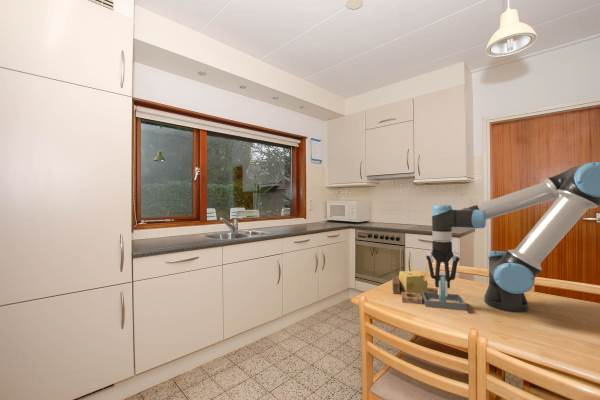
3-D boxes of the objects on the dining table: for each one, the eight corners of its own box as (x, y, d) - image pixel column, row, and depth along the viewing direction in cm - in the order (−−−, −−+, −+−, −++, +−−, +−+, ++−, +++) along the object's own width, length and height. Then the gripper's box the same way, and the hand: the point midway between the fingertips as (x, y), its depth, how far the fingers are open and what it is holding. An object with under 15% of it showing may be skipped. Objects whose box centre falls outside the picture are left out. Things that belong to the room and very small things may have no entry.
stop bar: (398, 288, 140) (398, 276, 140) (399, 296, 129) (399, 283, 129) (392, 287, 141) (392, 276, 141) (393, 295, 130) (393, 283, 130)
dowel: (445, 302, 118) (445, 274, 118) (446, 304, 116) (446, 276, 116) (438, 301, 119) (438, 274, 119) (439, 304, 116) (439, 276, 116)
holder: (419, 299, 125) (419, 293, 125) (422, 306, 117) (422, 299, 117) (401, 298, 127) (401, 291, 127) (402, 304, 119) (402, 297, 119)
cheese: (428, 297, 127) (428, 276, 127) (405, 297, 128) (405, 276, 128) (419, 290, 138) (419, 270, 138) (398, 290, 138) (398, 270, 138)
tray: (459, 302, 120) (458, 294, 120) (466, 313, 110) (466, 304, 110) (421, 299, 125) (421, 291, 125) (425, 309, 114) (425, 300, 114)
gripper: (459, 239, 119) (459, 293, 119) (422, 238, 123) (422, 290, 123) (463, 242, 111) (464, 299, 111) (424, 241, 116) (425, 296, 116)
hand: (442, 294), depth 117 cm, fingers closed on dowel, 2 cm apart
